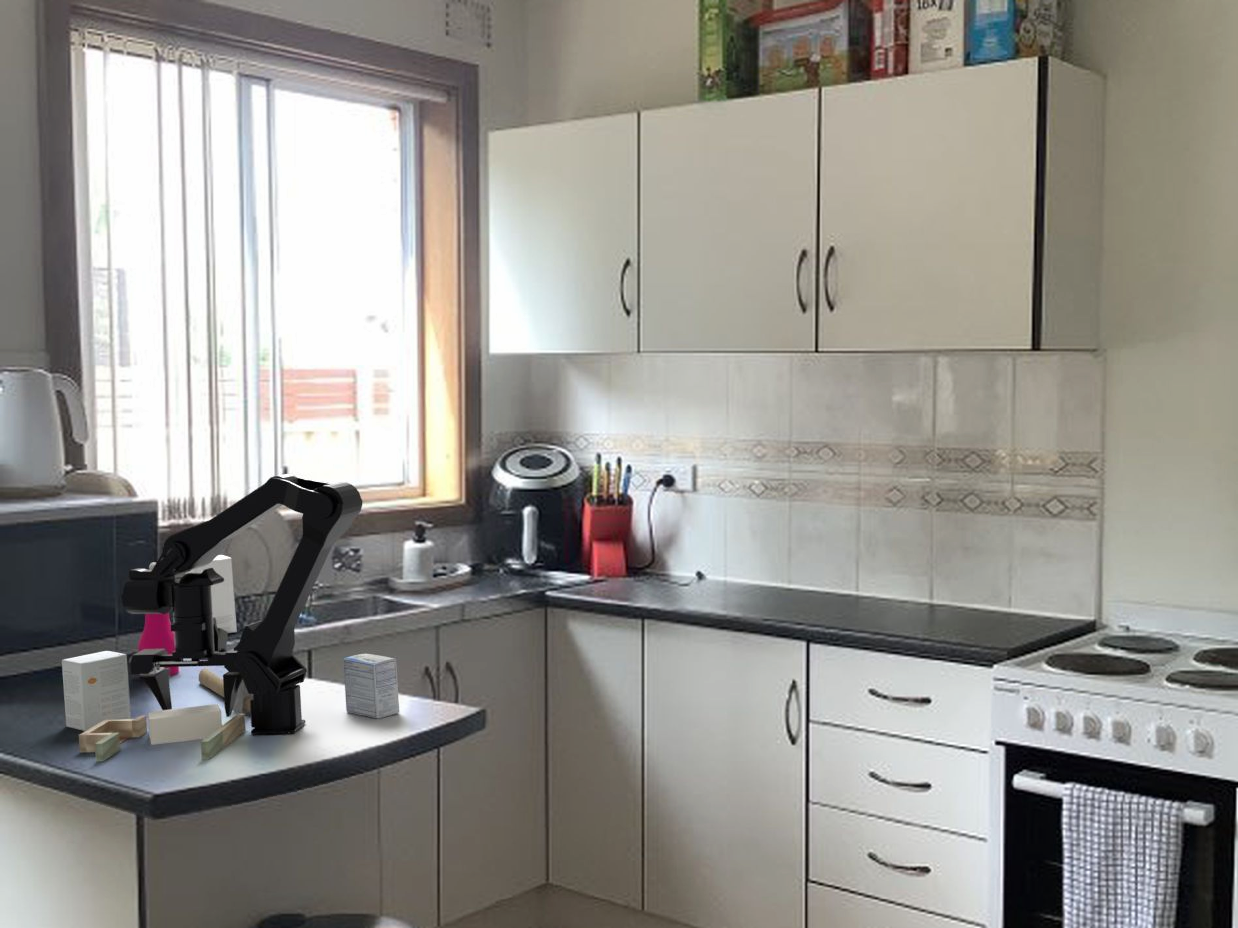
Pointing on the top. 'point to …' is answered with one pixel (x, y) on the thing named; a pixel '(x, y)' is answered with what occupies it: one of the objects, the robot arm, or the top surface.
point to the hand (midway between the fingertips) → (198, 716)
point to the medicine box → (371, 685)
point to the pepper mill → (158, 633)
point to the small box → (95, 689)
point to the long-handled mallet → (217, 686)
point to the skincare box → (222, 593)
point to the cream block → (183, 723)
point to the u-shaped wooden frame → (115, 731)
